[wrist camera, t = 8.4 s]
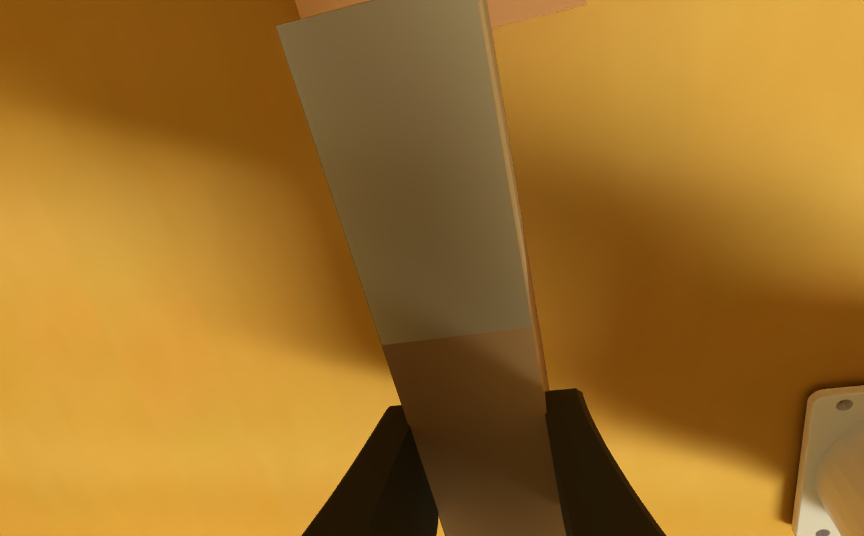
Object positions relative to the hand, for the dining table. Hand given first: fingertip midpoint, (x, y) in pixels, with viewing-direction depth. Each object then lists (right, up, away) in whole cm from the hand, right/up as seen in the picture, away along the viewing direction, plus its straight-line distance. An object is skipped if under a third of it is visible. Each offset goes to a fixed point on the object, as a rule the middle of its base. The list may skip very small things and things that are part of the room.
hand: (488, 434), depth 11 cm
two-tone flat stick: (0, +2, +3) cm, 3 cm away
